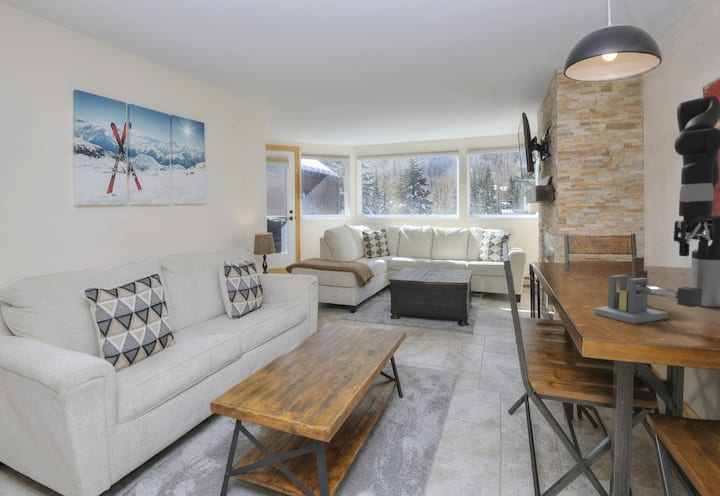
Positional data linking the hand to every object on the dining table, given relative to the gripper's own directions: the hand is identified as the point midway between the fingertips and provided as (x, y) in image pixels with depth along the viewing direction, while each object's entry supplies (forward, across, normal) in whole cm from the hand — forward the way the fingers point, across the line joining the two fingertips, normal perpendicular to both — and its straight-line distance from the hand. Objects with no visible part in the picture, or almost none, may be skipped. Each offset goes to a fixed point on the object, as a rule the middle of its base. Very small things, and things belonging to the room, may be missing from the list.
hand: (693, 254), depth 117 cm
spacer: (+17, +2, -17) cm, 24 cm away
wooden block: (+23, -14, -26) cm, 37 cm away
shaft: (+15, +2, -6) cm, 16 cm away
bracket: (+22, +2, -17) cm, 28 cm away
